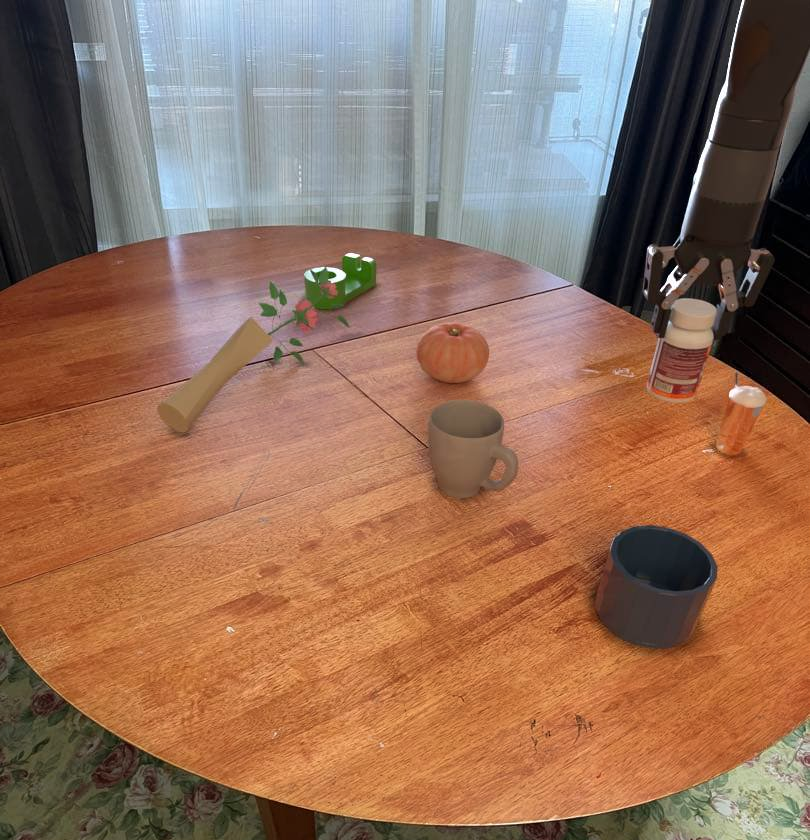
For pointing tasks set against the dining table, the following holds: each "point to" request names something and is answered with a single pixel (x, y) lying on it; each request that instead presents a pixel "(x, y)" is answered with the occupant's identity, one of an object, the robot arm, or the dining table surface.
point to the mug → (468, 448)
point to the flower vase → (240, 356)
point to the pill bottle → (682, 351)
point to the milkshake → (739, 417)
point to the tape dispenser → (342, 281)
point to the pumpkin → (452, 352)
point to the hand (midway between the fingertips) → (686, 336)
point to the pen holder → (655, 586)
